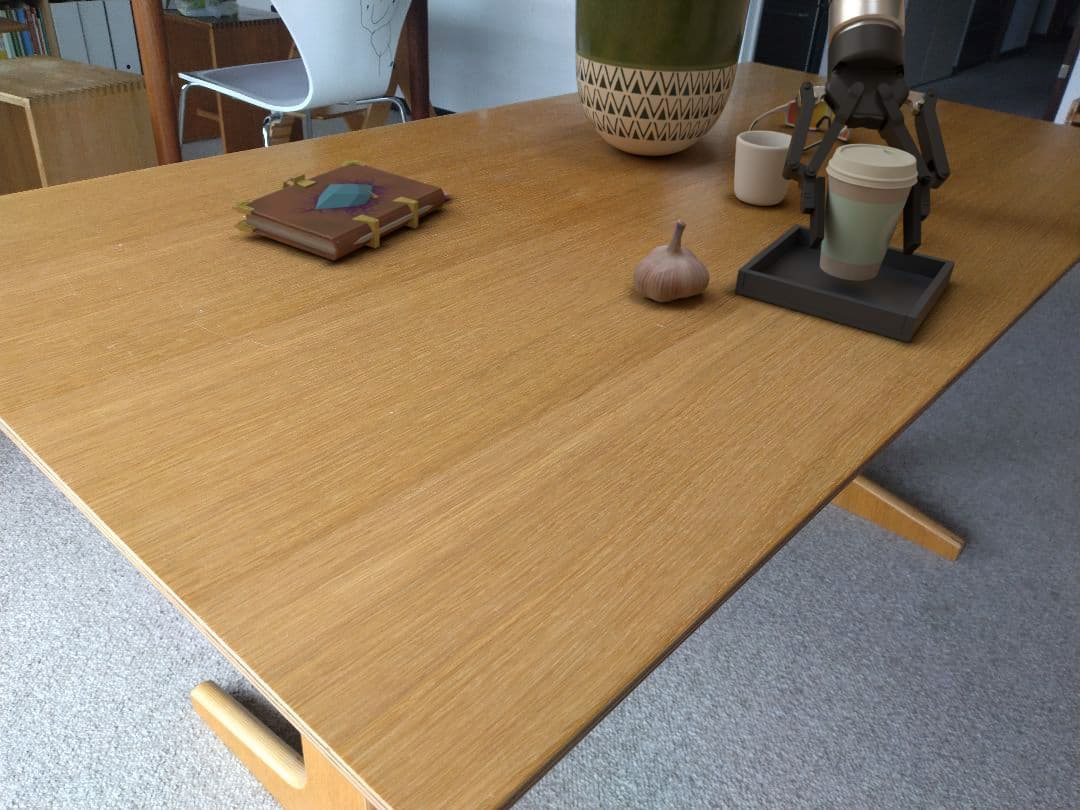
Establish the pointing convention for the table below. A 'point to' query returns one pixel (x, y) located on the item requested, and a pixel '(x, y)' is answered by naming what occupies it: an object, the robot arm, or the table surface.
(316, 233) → the book
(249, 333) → the table surface
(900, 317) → the slate tray
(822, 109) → the sunglasses
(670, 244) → the garlic bulb
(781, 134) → the cup
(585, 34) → the planter
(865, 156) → the coffee cup
